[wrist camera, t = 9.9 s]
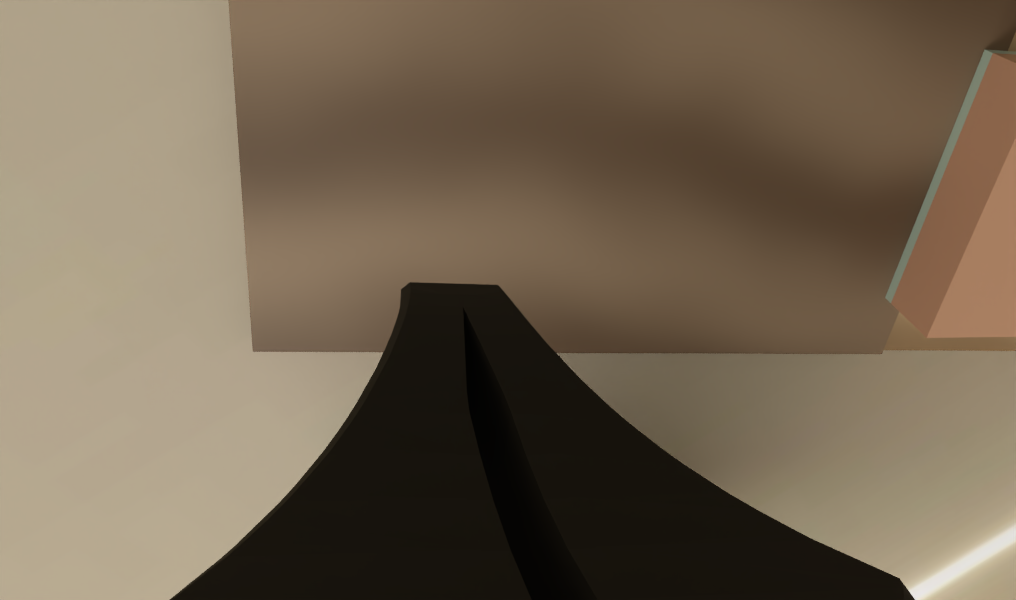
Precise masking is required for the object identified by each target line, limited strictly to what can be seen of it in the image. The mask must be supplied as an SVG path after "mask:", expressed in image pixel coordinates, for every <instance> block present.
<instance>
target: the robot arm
mask: <svg viewBox="0 0 1016 600" xmlns="http://www.w3.org/2000/svg"><path fill="white" fill-rule="evenodd" d="M170 600H915V599H914V598H913V596H912V595H911V594H910V592H909V591H908V590H907V588H906V587H905V586H904V584H903V583H902V582H901V580H900V578H897V577H895V576H893V575H891V574H888V573H886V572H884V571H882V570H880V569H877V568H875V567H873V566H871V565H868V564H866V563H864V562H862V561H860V560H857V559H855V558H853V557H851V556H848V555H846V554H844V553H842V552H840V551H837V550H835V549H833V548H831V547H828V546H826V545H824V544H822V543H820V542H817V541H815V540H813V539H811V538H809V537H807V536H805V535H803V534H801V533H799V532H797V531H795V530H794V529H792V528H790V527H788V526H786V525H784V524H782V523H780V522H779V521H777V520H775V519H773V518H771V517H769V516H767V515H765V514H764V513H762V512H760V511H758V510H756V509H754V508H753V507H751V506H749V505H748V504H746V503H744V502H742V501H741V500H739V499H737V498H736V497H734V496H732V495H730V494H729V493H727V492H725V491H724V490H722V489H721V488H719V487H718V486H716V485H715V484H713V483H711V482H710V481H708V480H707V479H705V478H704V477H702V476H701V475H699V474H698V473H696V472H695V471H693V470H691V469H690V468H688V467H687V466H685V465H684V464H682V463H681V462H680V461H678V460H677V459H675V458H674V457H673V456H671V455H670V454H668V453H667V452H666V451H664V450H663V449H661V448H660V447H659V446H658V445H656V444H655V443H654V442H652V441H651V440H650V439H649V438H647V437H646V436H645V435H644V434H642V433H641V432H640V431H638V430H637V429H636V428H635V427H633V426H632V425H631V424H630V423H628V422H627V421H626V420H625V419H624V418H622V417H621V416H620V415H619V414H618V413H617V412H615V411H614V410H613V409H612V408H611V407H610V406H609V405H607V404H606V403H605V402H604V401H603V400H602V399H601V398H600V397H599V396H598V395H597V394H596V393H595V392H594V391H593V390H592V389H590V388H589V387H588V386H587V385H586V384H585V383H584V382H583V381H582V380H581V379H580V378H579V377H578V376H577V375H576V374H575V373H574V372H573V371H572V370H571V369H570V368H569V367H568V365H567V364H566V363H565V362H564V361H563V360H562V359H561V358H560V357H559V356H558V355H557V354H556V352H555V351H554V350H553V349H552V348H551V347H550V346H549V345H548V344H547V342H546V341H545V340H544V339H543V338H542V337H541V335H540V334H539V333H538V332H537V331H536V330H535V328H534V327H533V326H532V325H531V324H530V322H529V321H528V320H527V319H526V318H525V316H524V315H523V314H522V313H521V311H520V310H519V309H518V308H517V307H516V305H515V304H514V303H513V302H512V300H511V299H510V298H509V297H508V296H507V294H506V293H505V292H504V291H503V290H502V289H501V287H500V286H499V285H489V284H454V283H420V282H409V283H408V284H407V285H406V286H404V287H403V288H402V289H401V297H400V309H399V313H398V316H397V320H396V323H395V325H394V328H393V331H392V334H391V336H390V339H389V341H388V343H387V346H386V348H385V350H384V352H383V355H382V357H381V359H380V361H379V364H378V366H377V368H376V370H375V371H374V373H373V375H372V377H371V379H370V380H369V382H368V384H367V386H366V387H365V389H364V391H363V393H362V395H361V396H360V398H359V400H358V402H357V403H356V405H355V407H354V408H353V410H352V411H351V413H350V414H349V416H348V418H347V419H346V421H345V422H344V424H343V425H342V426H341V428H340V429H339V431H338V432H337V434H336V435H335V436H334V438H333V439H332V440H331V442H330V443H329V445H328V446H327V447H326V449H325V450H324V451H323V453H322V454H321V455H320V456H319V457H318V459H317V460H316V461H315V462H314V464H313V465H312V466H311V467H310V468H309V470H308V471H307V472H306V473H305V474H304V476H303V477H302V478H301V479H300V480H299V482H298V483H297V484H296V485H295V486H294V487H293V488H292V490H291V491H290V492H289V493H288V494H287V495H286V496H285V497H284V498H283V499H282V500H281V502H280V503H279V504H278V505H277V506H276V507H275V508H274V509H273V510H271V511H270V512H269V513H268V514H267V515H266V516H265V517H264V518H263V519H262V520H261V521H260V522H259V523H258V524H257V525H256V526H255V527H254V528H253V529H252V530H251V531H250V532H249V533H248V534H247V535H246V536H245V537H244V538H243V539H242V540H241V541H240V542H239V543H238V544H237V545H236V546H234V547H233V548H232V549H231V550H230V551H229V552H228V553H227V554H225V555H224V556H223V557H222V558H221V559H220V560H218V561H217V562H216V563H215V564H214V565H212V566H211V567H210V568H209V569H207V570H206V571H205V572H204V573H202V574H201V575H200V576H199V577H197V578H196V579H195V580H194V581H192V582H191V583H190V584H189V585H187V586H186V587H185V588H184V589H182V590H181V591H180V592H179V593H177V594H176V595H175V596H174V597H173V598H171V599H170Z"/></svg>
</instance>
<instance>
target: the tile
mask: <svg viewBox="0 0 1016 600" xmlns="http://www.w3.org/2000/svg"><path fill="white" fill-rule="evenodd" d="M885 298H886V299H887V300H888V301H889V302H890V303H891V304H892V305H893V306H894V307H895V308H896V309H897V310H898V311H899V312H900V313H901V314H902V315H903V316H904V317H905V318H906V319H907V320H909V321H910V322H911V323H912V324H913V325H914V326H915V327H916V328H917V329H918V330H919V331H920V332H921V333H922V334H923V335H924V336H925V337H926V338H961V337H1016V52H1015V51H1000V50H984V52H983V55H982V57H981V60H980V62H979V65H978V67H977V70H976V72H975V75H974V77H973V80H972V82H971V85H970V87H969V90H968V92H967V95H966V97H965V100H964V102H963V105H962V107H961V110H960V112H959V115H958V117H957V120H956V122H955V125H954V127H953V129H952V132H951V134H950V137H949V139H948V142H947V144H946V147H945V149H944V152H943V154H942V157H941V159H940V162H939V164H938V167H937V169H936V172H935V174H934V177H933V179H932V182H931V184H930V187H929V189H928V192H927V194H926V197H925V199H924V202H923V204H922V207H921V209H920V212H919V214H918V217H917V219H916V222H915V224H914V227H913V229H912V232H911V234H910V237H909V239H908V242H907V244H906V247H905V249H904V252H903V254H902V257H901V259H900V262H899V264H898V267H897V269H896V272H895V274H894V277H893V279H892V282H891V284H890V287H889V289H888V292H887V294H886V297H885Z"/></svg>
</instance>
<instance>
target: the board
mask: <svg viewBox="0 0 1016 600" xmlns="http://www.w3.org/2000/svg"><path fill="white" fill-rule="evenodd" d="M229 14H230V28H231V42H232V57H233V71H234V86H235V100H236V115H237V129H238V143H239V158H240V172H241V187H242V201H243V216H244V230H245V245H246V259H247V273H248V288H249V302H250V317H251V331H252V346H253V352H384V350H385V348H386V346H387V343H388V341H389V339H390V336H391V334H392V331H393V328H394V325H395V323H396V320H397V316H398V313H399V309H400V297H401V289H402V288H403V287H404V286H406V285H407V284H408V283H409V282H420V283H454V284H489V285H499V286H500V287H501V289H502V290H503V291H504V292H505V293H506V294H507V296H508V297H509V298H510V299H511V300H512V302H513V303H514V304H515V305H516V307H517V308H518V309H519V310H520V311H521V313H522V314H523V315H524V316H525V318H526V319H527V320H528V321H529V322H530V324H531V325H532V326H533V327H534V328H535V330H536V331H537V332H538V333H539V334H540V335H541V337H542V338H543V339H544V340H545V341H546V342H547V344H548V345H549V346H550V347H551V348H552V349H553V350H554V351H555V352H556V353H773V354H882V352H883V350H985V351H1016V337H961V338H926V337H925V336H924V335H923V334H922V333H921V332H920V331H919V330H918V329H917V328H916V327H915V326H914V325H913V324H912V323H911V322H910V321H909V320H907V319H906V318H905V317H904V316H903V315H902V314H901V313H900V312H899V311H898V310H897V309H896V308H895V307H894V306H893V305H892V304H891V303H890V302H889V301H888V300H887V299H886V298H885V297H886V294H887V292H888V289H889V287H890V284H891V282H892V279H893V277H894V274H895V272H896V269H897V267H898V264H899V262H900V259H901V257H902V254H903V252H904V249H905V247H906V244H907V242H908V239H909V237H910V234H911V232H912V229H913V227H914V224H915V222H916V219H917V217H918V214H919V212H920V209H921V207H922V204H923V202H924V199H925V197H926V194H927V192H928V189H929V187H930V184H931V182H932V179H933V177H934V174H935V172H936V169H937V167H938V164H939V162H940V159H941V157H942V154H943V152H944V149H945V147H946V144H947V142H948V139H949V137H950V134H951V132H952V129H953V127H954V125H955V122H956V120H957V117H958V115H959V112H960V110H961V107H962V105H963V102H964V100H965V97H966V95H967V92H968V90H969V87H970V85H971V82H972V80H973V77H974V75H975V72H976V70H977V67H978V65H979V62H980V60H981V57H982V55H983V52H984V50H1000V51H1015V52H1016V0H229Z"/></svg>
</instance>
